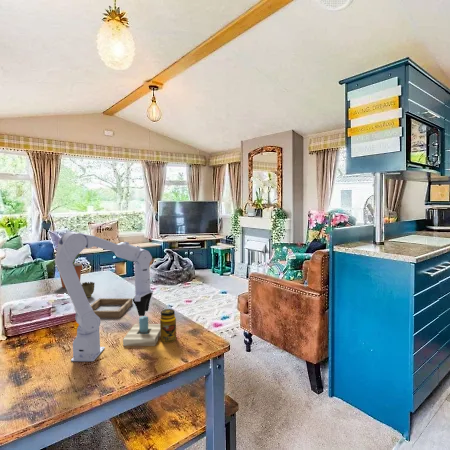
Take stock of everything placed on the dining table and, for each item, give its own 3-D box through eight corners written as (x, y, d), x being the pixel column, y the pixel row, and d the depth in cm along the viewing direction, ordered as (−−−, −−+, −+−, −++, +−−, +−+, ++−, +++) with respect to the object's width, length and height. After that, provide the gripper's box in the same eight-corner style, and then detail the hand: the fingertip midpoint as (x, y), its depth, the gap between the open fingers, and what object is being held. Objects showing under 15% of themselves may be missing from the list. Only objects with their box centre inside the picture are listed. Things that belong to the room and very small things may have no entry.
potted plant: (84, 287, 192) (82, 231, 189) (57, 290, 186) (53, 232, 183) (86, 281, 206) (83, 229, 203) (60, 283, 201) (57, 230, 197)
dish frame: (119, 317, 143) (119, 311, 143) (82, 317, 143) (82, 311, 143) (132, 304, 161) (132, 298, 161) (99, 304, 162) (99, 298, 161)
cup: (89, 299, 168) (89, 285, 168) (77, 299, 170) (77, 284, 169) (97, 295, 176) (97, 281, 175) (86, 294, 177) (85, 281, 176)
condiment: (169, 346, 116) (168, 315, 115) (152, 341, 120) (151, 311, 119) (181, 338, 122) (180, 309, 121) (164, 334, 127) (164, 305, 125)
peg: (147, 339, 121) (146, 319, 120) (138, 339, 121) (137, 319, 120) (150, 335, 124) (149, 316, 124) (141, 335, 125) (140, 316, 124)
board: (154, 345, 116) (154, 339, 115) (123, 345, 116) (122, 339, 116) (163, 329, 129) (163, 324, 129) (135, 329, 130) (134, 324, 130)
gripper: (147, 284, 113) (148, 320, 114) (157, 274, 128) (158, 306, 129) (128, 284, 113) (129, 320, 115) (140, 274, 128) (141, 306, 129)
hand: (143, 313), depth 122 cm, fingers open, 4 cm apart
